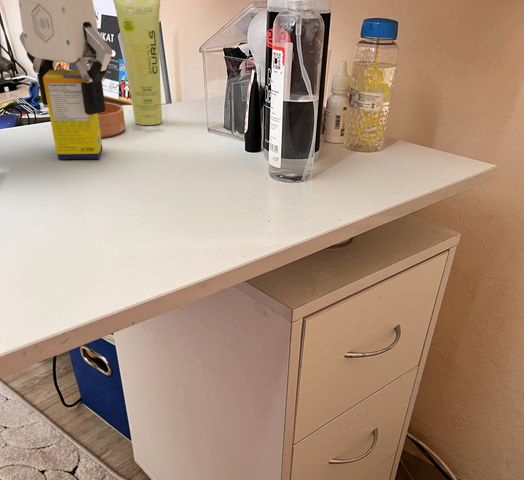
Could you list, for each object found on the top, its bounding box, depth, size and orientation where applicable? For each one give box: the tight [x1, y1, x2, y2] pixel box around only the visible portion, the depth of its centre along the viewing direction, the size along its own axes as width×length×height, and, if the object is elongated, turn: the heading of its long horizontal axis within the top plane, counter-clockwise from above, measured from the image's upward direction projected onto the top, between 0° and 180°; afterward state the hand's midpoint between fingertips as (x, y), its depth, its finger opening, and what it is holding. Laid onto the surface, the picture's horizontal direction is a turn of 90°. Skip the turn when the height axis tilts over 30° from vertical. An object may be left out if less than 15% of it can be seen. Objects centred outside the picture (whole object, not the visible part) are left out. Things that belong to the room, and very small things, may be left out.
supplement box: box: [43, 69, 103, 160], centre depth 76 cm, size 6×6×11 cm
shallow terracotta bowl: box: [98, 101, 126, 139], centre depth 89 cm, size 11×11×4 cm
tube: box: [112, 0, 163, 126], centre depth 90 cm, size 6×5×20 cm
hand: (73, 107), depth 76 cm, fingers closed on supplement box, 8 cm apart
